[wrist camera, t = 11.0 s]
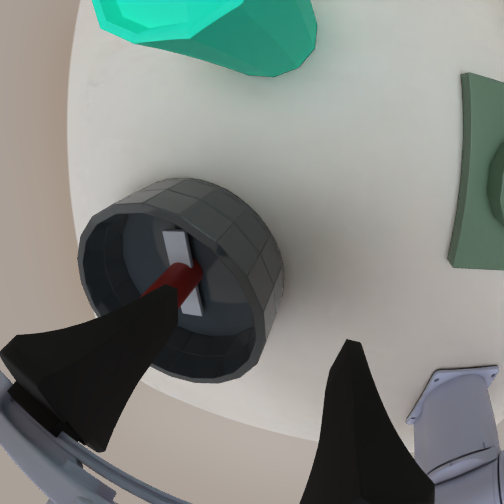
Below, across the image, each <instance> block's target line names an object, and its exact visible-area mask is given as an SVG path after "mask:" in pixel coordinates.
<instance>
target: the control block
mask: <svg viewBox="0 0 504 504" xmlns="http://www.w3.org/2000/svg"><path fill="white" fill-rule="evenodd" d="M461 79H462V92H463V156H462V171H461V181H460V191H459V199H458V206H457V213H456V219H455V225H454V230H453V235H452V241H451V245H450V250H449V254H448V261H449V262H450V264H451V266H452V267H453V268H468V269H487V270H504V83H502V82H499V81H496V80H493V79H490V78H487V77H483V76H480V75H476V74H473V73H465V74H461Z"/></svg>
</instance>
